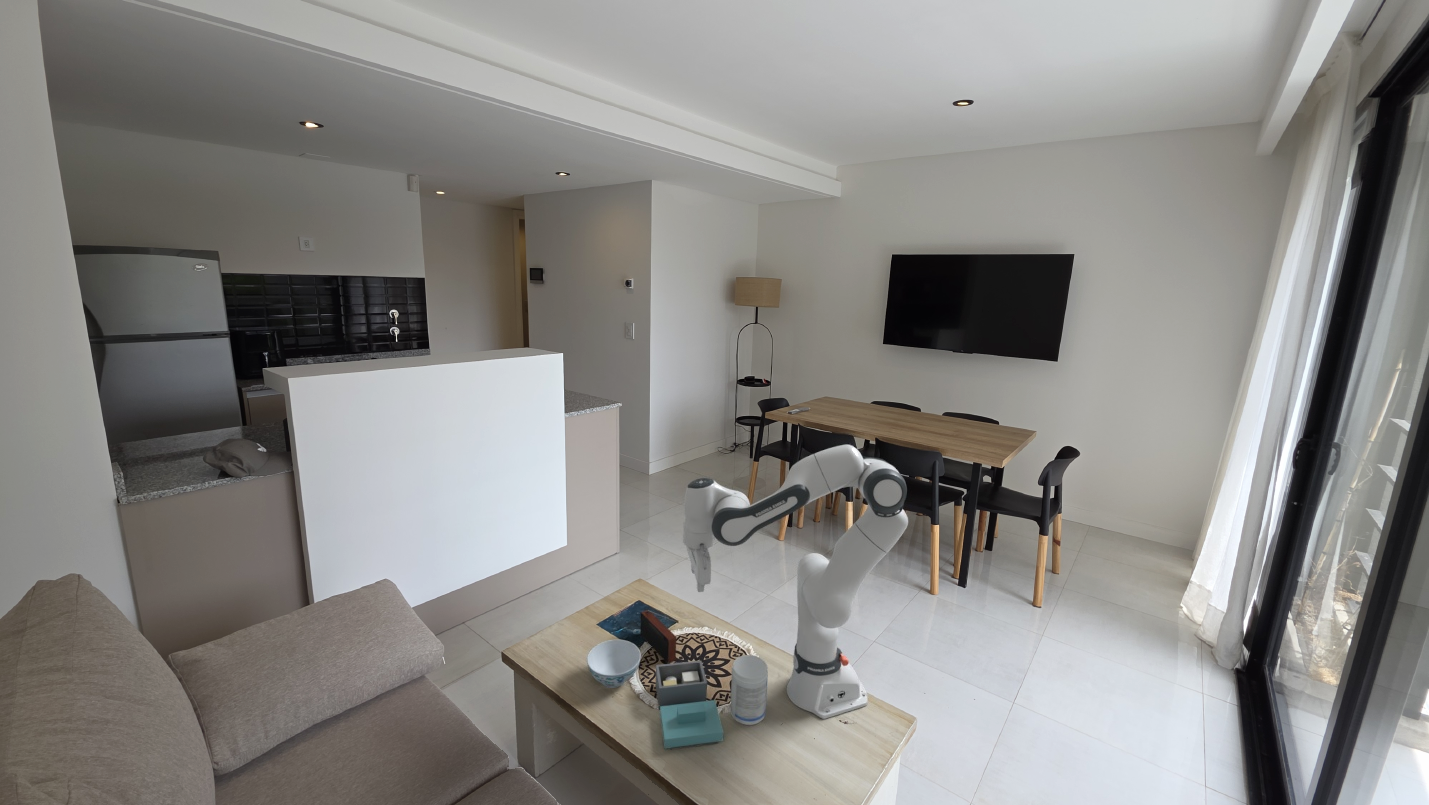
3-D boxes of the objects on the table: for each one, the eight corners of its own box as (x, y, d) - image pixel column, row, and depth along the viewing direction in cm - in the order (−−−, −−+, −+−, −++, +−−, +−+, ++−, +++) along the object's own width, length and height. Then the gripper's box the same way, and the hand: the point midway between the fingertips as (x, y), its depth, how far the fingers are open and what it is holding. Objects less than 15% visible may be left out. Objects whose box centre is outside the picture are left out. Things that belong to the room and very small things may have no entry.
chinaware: (612, 707, 153) (612, 683, 151) (576, 682, 162) (575, 658, 160) (651, 677, 165) (651, 654, 163) (615, 654, 174) (615, 632, 172)
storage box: (700, 681, 164) (701, 660, 162) (706, 704, 156) (707, 683, 154) (655, 686, 162) (655, 665, 160) (658, 710, 153) (659, 688, 151)
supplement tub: (772, 717, 152) (776, 671, 149) (743, 732, 147) (746, 684, 143) (750, 694, 160) (753, 649, 156) (722, 707, 155) (725, 661, 151)
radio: (639, 635, 183) (639, 594, 179) (647, 632, 185) (648, 591, 181) (670, 669, 169) (671, 625, 165) (679, 665, 171) (680, 621, 167)
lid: (714, 708, 154) (715, 690, 153) (722, 740, 144) (723, 722, 142) (659, 715, 151) (660, 697, 150) (664, 748, 141) (665, 729, 139)
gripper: (718, 554, 146) (715, 601, 149) (703, 519, 165) (702, 561, 169) (693, 555, 145) (692, 603, 148) (682, 520, 164) (681, 563, 167)
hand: (697, 581), depth 159 cm, fingers open, 8 cm apart
